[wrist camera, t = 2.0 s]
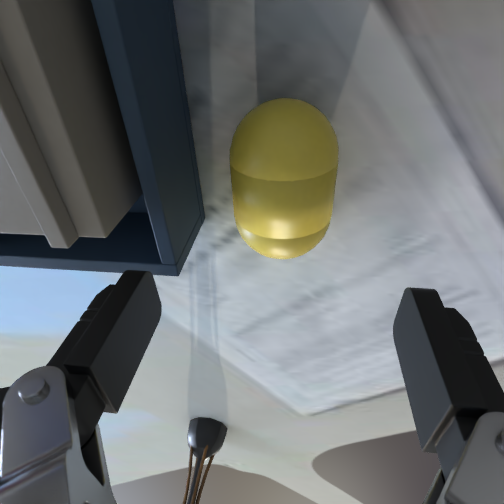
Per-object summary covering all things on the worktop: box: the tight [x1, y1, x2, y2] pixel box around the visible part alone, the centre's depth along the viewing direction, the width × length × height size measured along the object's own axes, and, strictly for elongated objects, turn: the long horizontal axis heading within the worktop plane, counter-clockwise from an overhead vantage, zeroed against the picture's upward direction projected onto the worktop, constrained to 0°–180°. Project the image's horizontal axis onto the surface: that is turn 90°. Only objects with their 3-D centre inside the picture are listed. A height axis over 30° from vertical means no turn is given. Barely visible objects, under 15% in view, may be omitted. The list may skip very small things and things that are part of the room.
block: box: [0, 0, 143, 248], centre depth 15 cm, size 8×10×9 cm
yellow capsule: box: [230, 98, 339, 259], centre depth 17 cm, size 8×5×5 cm, turn 3°
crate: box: [0, 0, 205, 276], centre depth 16 cm, size 16×14×6 cm
